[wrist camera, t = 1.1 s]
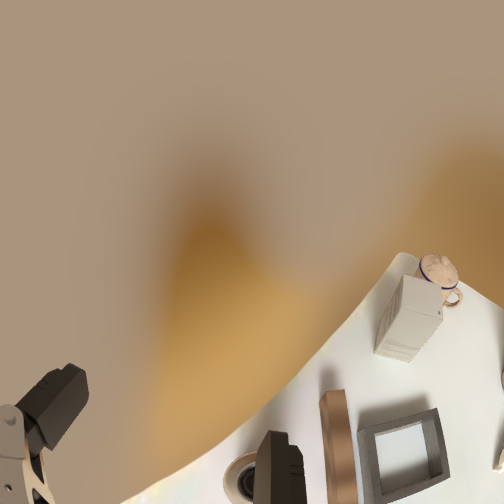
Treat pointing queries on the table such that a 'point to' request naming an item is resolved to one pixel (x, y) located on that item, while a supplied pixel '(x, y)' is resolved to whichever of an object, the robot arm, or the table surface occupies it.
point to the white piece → (500, 463)
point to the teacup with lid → (440, 276)
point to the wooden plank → (338, 449)
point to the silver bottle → (240, 479)
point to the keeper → (435, 451)
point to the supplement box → (409, 318)
